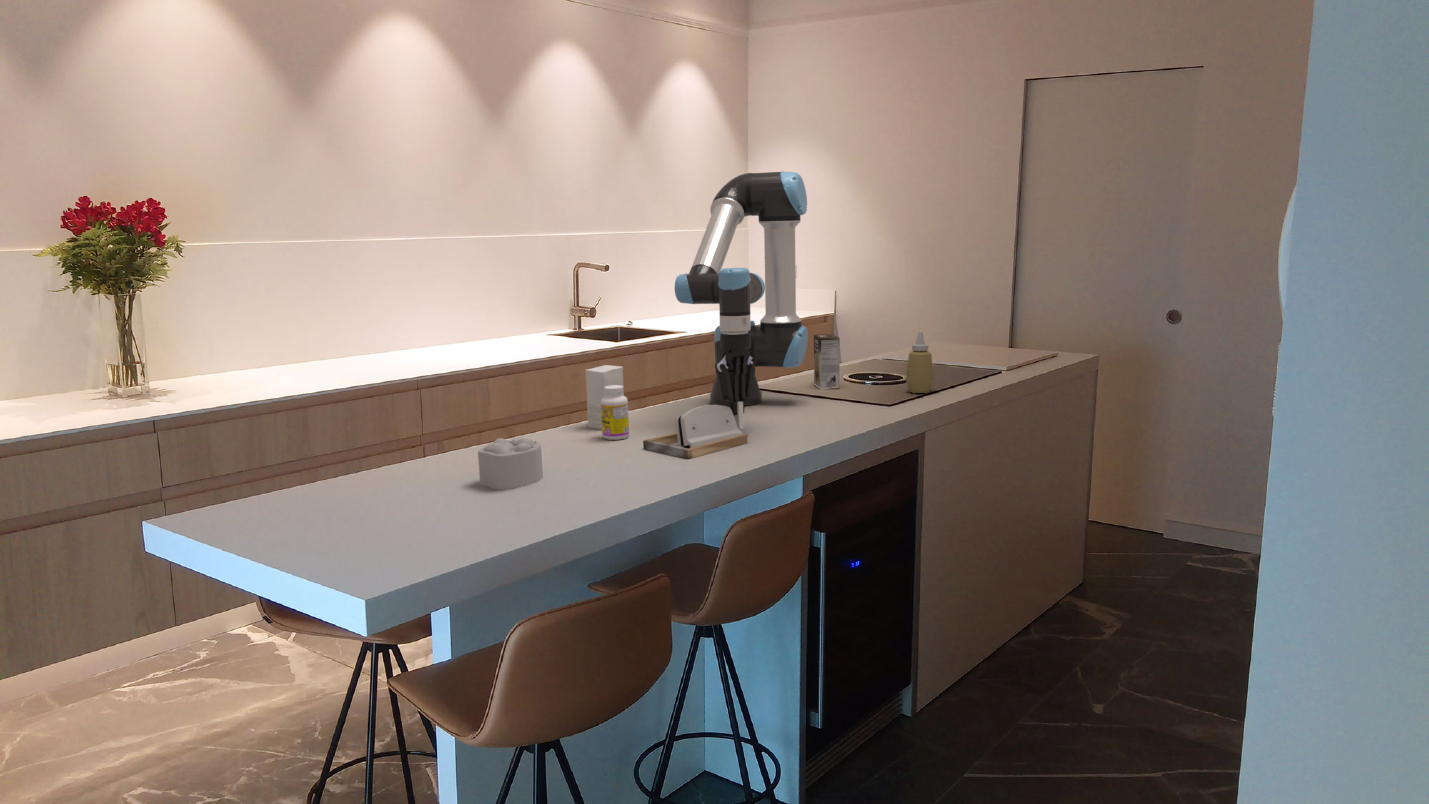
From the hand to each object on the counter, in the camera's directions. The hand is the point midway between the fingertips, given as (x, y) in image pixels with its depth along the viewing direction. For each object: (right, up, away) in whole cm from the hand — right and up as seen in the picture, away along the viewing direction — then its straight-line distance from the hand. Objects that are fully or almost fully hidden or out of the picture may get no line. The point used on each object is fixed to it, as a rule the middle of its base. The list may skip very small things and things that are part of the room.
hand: (737, 427), depth 236 cm
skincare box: (-34, 0, +14) cm, 37 cm away
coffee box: (+29, +11, +63) cm, 71 cm away
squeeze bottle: (+56, +9, +50) cm, 76 cm away
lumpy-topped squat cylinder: (-48, -10, -36) cm, 60 cm away
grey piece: (-7, -4, -6) cm, 10 cm away
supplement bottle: (-30, -3, +1) cm, 30 cm away
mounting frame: (-10, -4, -10) cm, 15 cm away
